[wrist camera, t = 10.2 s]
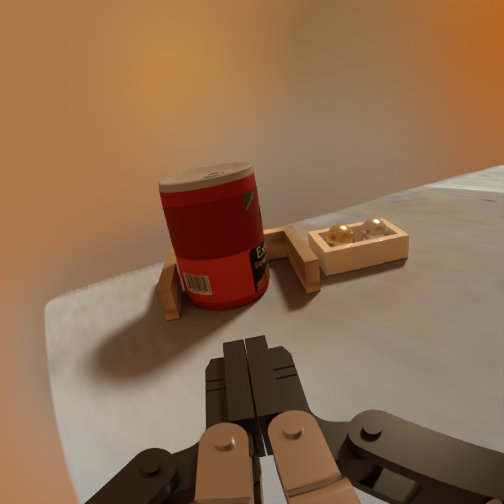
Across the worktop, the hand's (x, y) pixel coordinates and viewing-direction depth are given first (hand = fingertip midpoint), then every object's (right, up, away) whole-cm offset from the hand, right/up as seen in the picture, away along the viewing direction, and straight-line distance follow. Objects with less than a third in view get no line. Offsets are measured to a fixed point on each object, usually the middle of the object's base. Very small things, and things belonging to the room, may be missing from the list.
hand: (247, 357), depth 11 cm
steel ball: (+13, +4, +20) cm, 24 cm away
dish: (+11, +3, +20) cm, 23 cm away
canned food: (-2, 0, +19) cm, 19 cm away
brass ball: (+9, +4, +20) cm, 22 cm away
